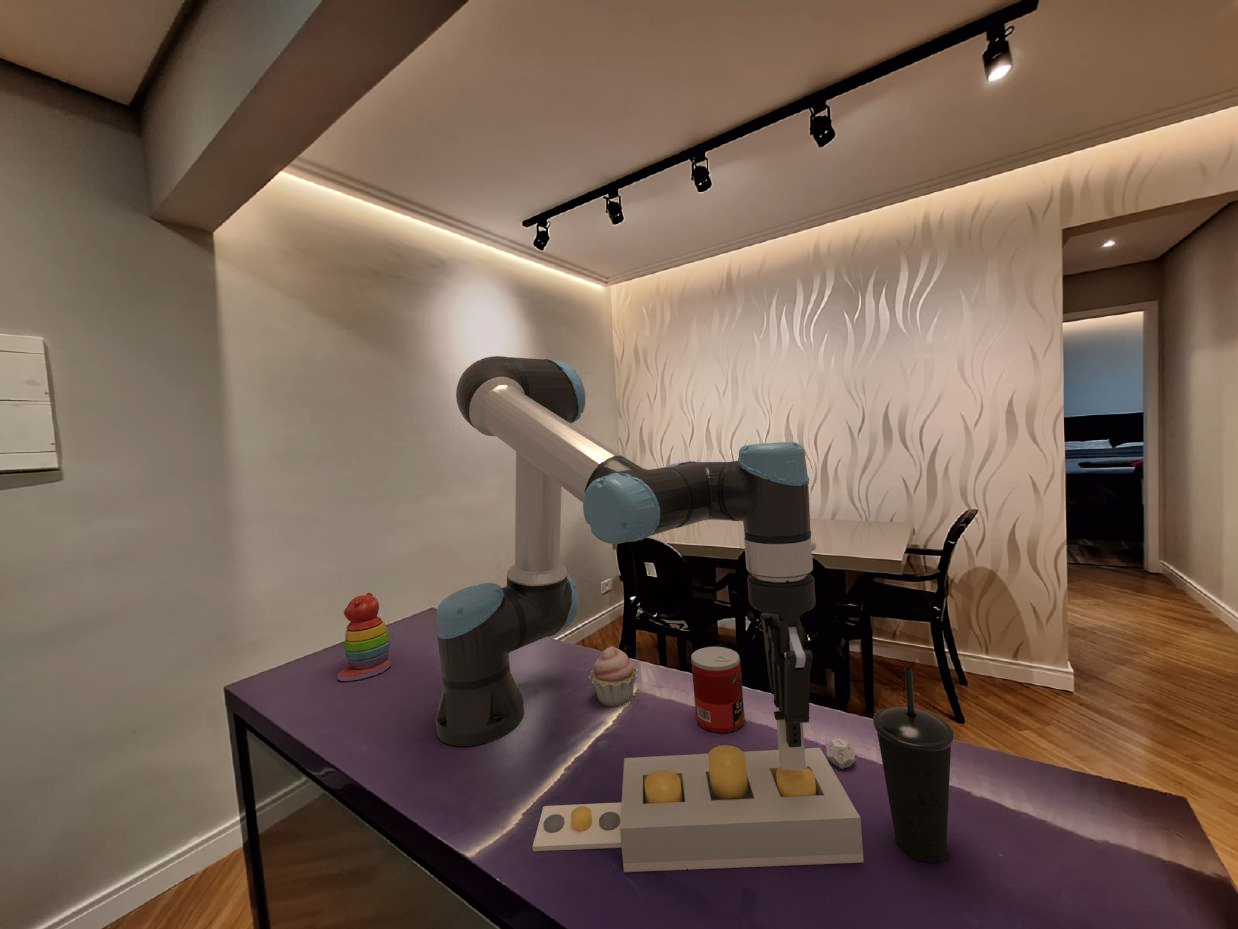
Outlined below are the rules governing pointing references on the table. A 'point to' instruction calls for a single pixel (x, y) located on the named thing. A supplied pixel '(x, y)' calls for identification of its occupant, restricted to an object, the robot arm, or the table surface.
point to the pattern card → (579, 827)
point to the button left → (663, 787)
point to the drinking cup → (916, 775)
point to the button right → (795, 782)
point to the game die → (840, 753)
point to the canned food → (718, 689)
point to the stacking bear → (365, 637)
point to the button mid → (728, 772)
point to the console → (736, 818)
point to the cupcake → (613, 677)
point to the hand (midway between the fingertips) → (792, 765)
